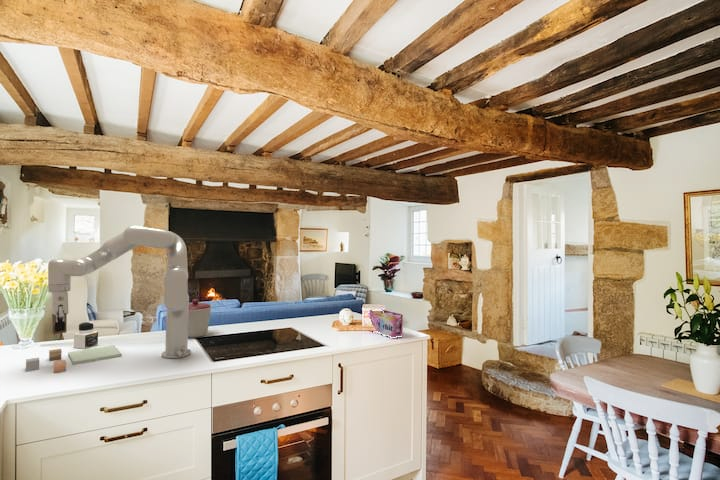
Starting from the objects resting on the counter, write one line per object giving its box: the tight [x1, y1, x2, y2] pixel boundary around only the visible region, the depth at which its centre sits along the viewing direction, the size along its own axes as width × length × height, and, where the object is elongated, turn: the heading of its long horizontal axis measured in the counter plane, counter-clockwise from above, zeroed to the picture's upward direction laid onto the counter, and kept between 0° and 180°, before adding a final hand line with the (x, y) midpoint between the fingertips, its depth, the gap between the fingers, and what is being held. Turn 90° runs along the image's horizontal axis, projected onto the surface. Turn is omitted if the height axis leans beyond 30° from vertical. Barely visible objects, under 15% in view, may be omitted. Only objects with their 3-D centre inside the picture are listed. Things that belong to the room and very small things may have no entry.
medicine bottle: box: [73, 321, 99, 350], centre depth 186 cm, size 7×7×12 cm
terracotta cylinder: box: [52, 359, 67, 374], centre depth 151 cm, size 4×4×4 cm
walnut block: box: [51, 312, 68, 335], centre depth 159 cm, size 4×4×8 cm
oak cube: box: [48, 348, 63, 362], centre depth 166 cm, size 4×4×4 cm
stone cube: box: [25, 357, 40, 372], centre depth 153 cm, size 4×4×4 cm
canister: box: [188, 298, 213, 339], centre depth 211 cm, size 18×18×21 cm
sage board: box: [67, 345, 123, 365], centre depth 172 cm, size 18×18×1 cm
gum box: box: [369, 309, 404, 337], centre depth 223 cm, size 24×8×14 cm, turn 37°
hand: (59, 329), depth 159 cm, fingers closed on walnut block, 4 cm apart
